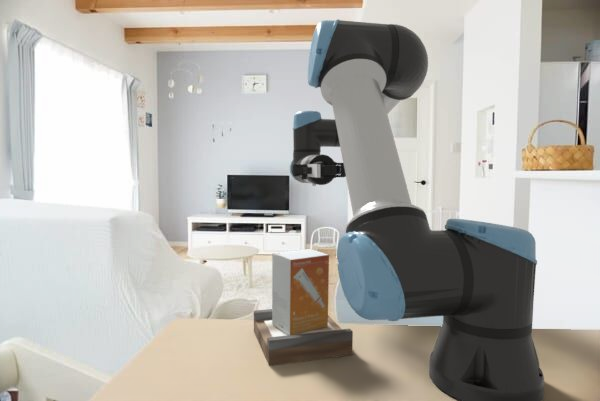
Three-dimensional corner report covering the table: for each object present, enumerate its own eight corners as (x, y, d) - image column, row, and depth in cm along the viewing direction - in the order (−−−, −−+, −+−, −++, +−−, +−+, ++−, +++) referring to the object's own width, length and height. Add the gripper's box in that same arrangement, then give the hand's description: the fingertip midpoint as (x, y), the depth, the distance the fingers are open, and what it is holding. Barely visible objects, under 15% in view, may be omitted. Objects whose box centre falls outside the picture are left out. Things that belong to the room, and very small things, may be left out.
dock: (352, 354, 69) (352, 331, 69) (269, 365, 66) (268, 340, 65) (324, 323, 83) (324, 304, 83) (253, 331, 79) (253, 310, 79)
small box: (290, 337, 70) (290, 259, 69) (271, 324, 75) (271, 252, 74) (329, 327, 74) (329, 253, 73) (309, 316, 79) (309, 247, 78)
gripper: (362, 183, 111) (403, 188, 90) (269, 184, 104) (291, 189, 84) (363, 155, 110) (404, 153, 90) (269, 154, 103) (291, 151, 83)
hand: (350, 170), depth 87 cm, fingers open, 13 cm apart
